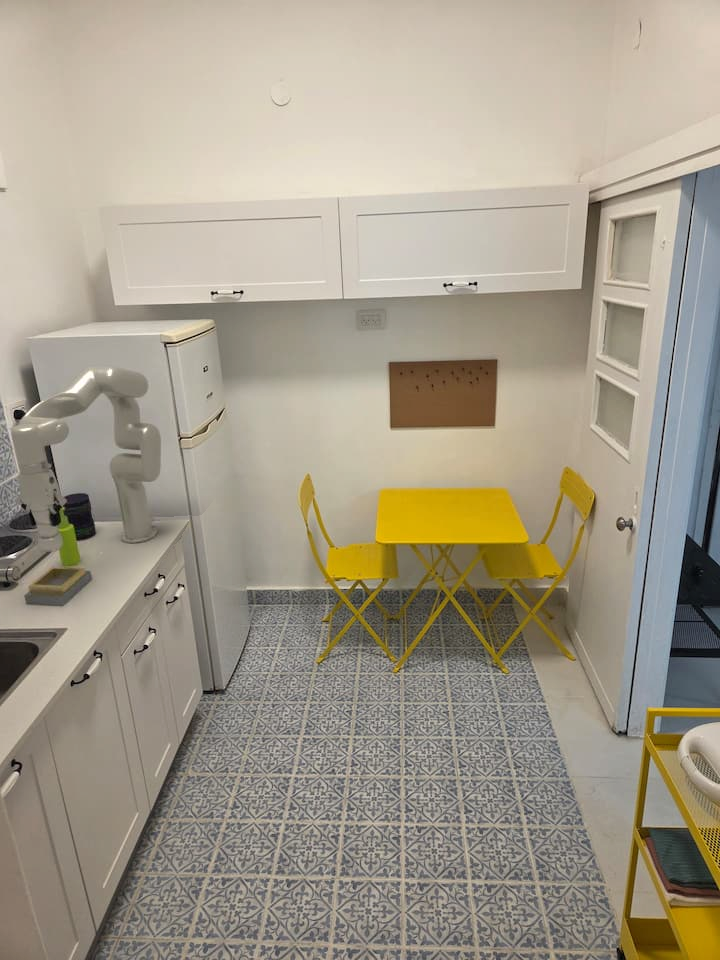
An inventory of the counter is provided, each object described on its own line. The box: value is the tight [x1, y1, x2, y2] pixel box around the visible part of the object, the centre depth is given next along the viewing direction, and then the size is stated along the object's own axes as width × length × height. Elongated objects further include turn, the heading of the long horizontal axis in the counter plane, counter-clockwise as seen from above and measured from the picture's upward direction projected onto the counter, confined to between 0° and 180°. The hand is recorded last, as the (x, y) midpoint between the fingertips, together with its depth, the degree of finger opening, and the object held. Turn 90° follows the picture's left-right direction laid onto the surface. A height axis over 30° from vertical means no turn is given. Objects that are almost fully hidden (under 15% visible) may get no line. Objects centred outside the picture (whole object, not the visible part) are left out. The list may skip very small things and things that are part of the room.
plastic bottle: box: [30, 501, 63, 553], centre depth 185 cm, size 6×7×20 cm
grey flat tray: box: [23, 566, 93, 607], centre depth 192 cm, size 16×12×5 cm
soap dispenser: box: [57, 507, 81, 568], centre depth 208 cm, size 6×7×20 cm
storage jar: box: [63, 492, 97, 542], centre depth 229 cm, size 10×10×15 cm
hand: (46, 523), depth 186 cm, fingers closed on plastic bottle, 6 cm apart
